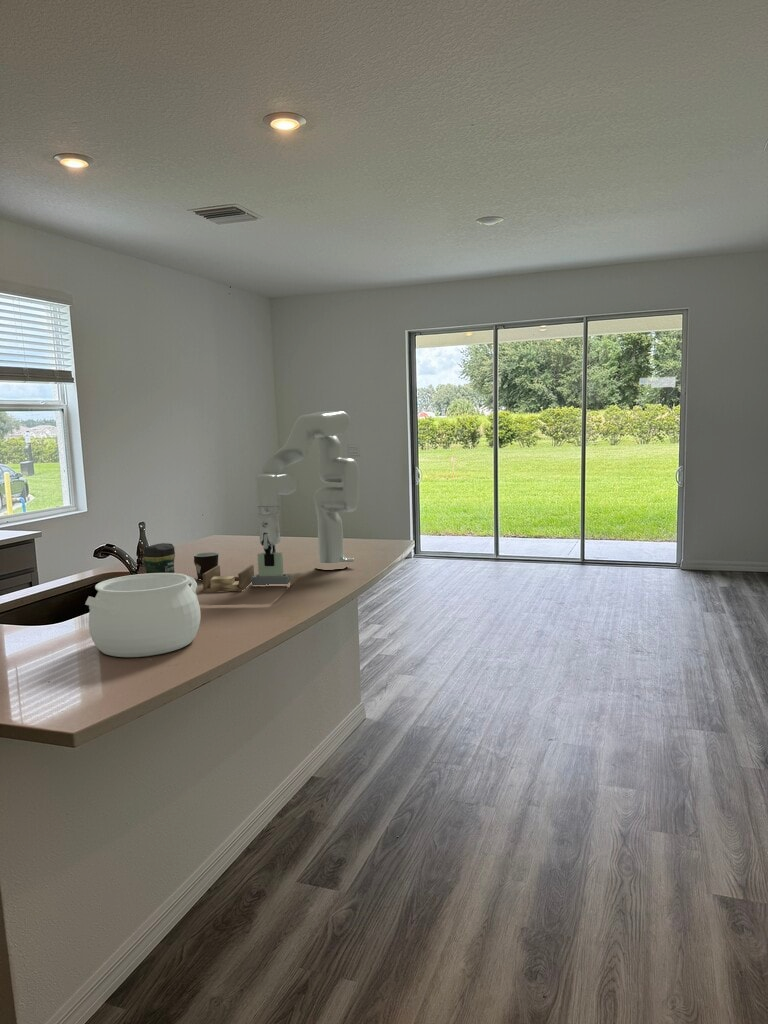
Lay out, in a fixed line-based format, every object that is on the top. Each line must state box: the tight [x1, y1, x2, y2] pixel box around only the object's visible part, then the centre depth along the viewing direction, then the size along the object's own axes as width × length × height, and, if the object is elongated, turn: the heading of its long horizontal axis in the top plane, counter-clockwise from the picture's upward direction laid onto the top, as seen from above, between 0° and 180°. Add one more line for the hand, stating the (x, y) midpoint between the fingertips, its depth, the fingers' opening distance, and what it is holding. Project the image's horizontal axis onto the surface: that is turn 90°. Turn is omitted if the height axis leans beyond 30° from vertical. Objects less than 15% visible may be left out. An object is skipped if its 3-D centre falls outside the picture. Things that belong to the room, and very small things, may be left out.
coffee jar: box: [143, 542, 176, 574], centre depth 221 cm, size 10×8×19 cm
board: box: [257, 551, 284, 577], centre depth 236 cm, size 8×2×11 cm, turn 85°
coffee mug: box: [193, 551, 219, 580], centre depth 252 cm, size 12×9×10 cm
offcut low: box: [211, 582, 239, 588], centre depth 233 cm, size 9×4×2 cm, turn 85°
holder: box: [251, 573, 291, 586], centre depth 237 cm, size 12×6×4 cm, turn 85°
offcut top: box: [211, 575, 236, 585], centre depth 232 cm, size 7×4×2 cm, turn 90°
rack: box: [202, 564, 255, 593], centre depth 236 cm, size 13×15×7 cm
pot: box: [84, 573, 202, 658], centre depth 174 cm, size 29×26×16 cm
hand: (270, 564), depth 236 cm, fingers closed on board, 2 cm apart
